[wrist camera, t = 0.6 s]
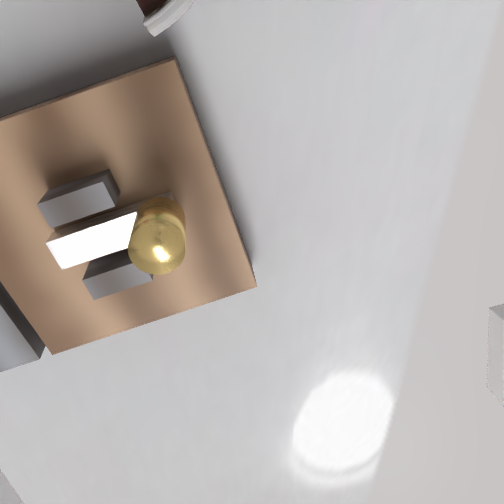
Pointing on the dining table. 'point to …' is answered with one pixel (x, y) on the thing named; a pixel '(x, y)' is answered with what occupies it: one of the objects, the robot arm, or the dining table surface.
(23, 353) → the door board
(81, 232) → the bolt
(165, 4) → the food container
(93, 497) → the dining table surface
